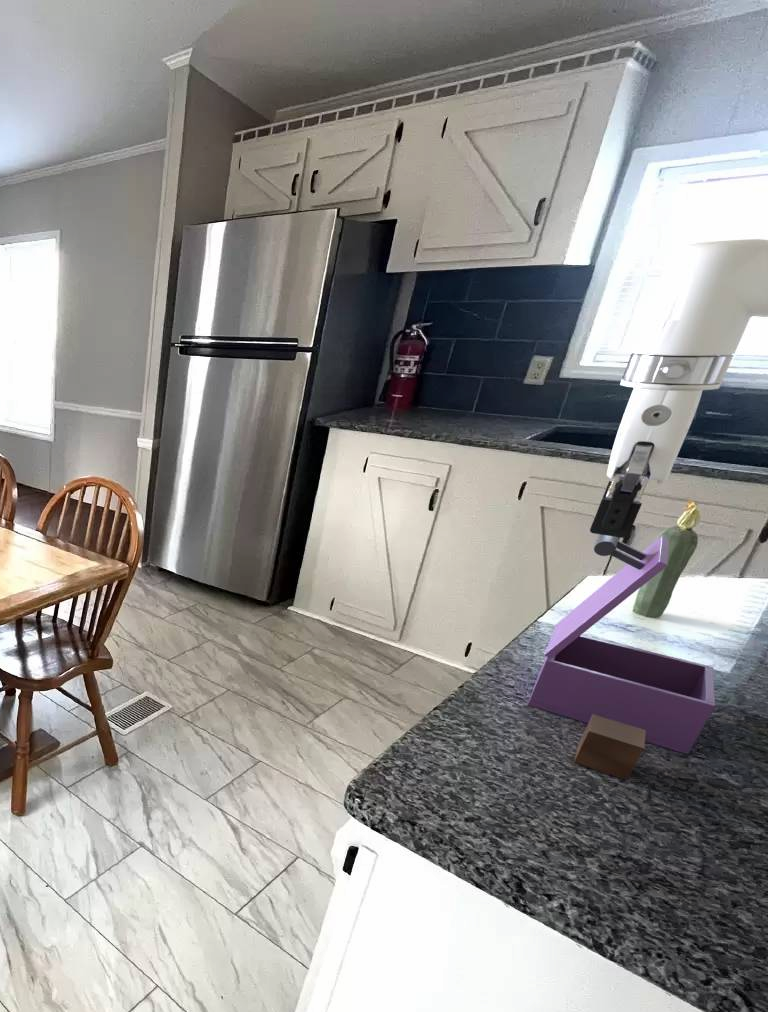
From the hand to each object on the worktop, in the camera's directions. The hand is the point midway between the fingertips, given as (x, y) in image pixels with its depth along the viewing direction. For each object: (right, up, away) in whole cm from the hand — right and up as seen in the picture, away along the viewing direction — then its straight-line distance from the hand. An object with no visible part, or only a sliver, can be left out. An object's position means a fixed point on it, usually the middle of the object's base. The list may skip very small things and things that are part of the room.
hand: (611, 524), depth 75 cm
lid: (+2, -9, +2) cm, 9 cm away
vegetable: (+30, -13, +25) cm, 42 cm away
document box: (+5, -23, +6) cm, 24 cm away
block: (-5, -27, -3) cm, 28 cm away
